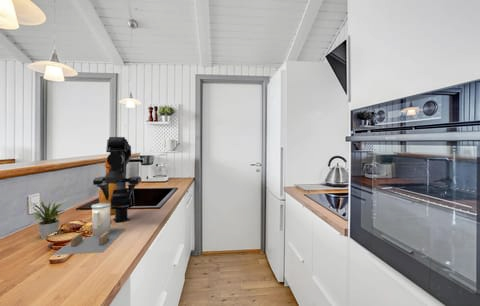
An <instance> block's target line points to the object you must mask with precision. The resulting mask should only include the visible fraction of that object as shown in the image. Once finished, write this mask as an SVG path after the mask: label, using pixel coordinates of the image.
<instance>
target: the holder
mask: <svg viewBox="0 0 480 306" xmlns="http://www.w3.org/2000/svg"><path fill="white" fill-rule="evenodd" d="M126 230H127V228H111V233H110V234H109V232H105V233H104V234H102V235H101V236H100V237H95V236H91V237H86V238H84V239H83V236H82V234H83V232H79V233H77V234H76V235H74V236H73V237H71V238H70V242H71V243H70V242H68V243H67V244H65V245H64V246H62V247H61V248H59V249H58V250H57V251H55V252H54V253H52V254H51V256H56V255H57V256H59V255H60V256H62V255H79V254H80V255H81V254H101V253H104V252H105V251H106V250H107V249H108V248H109V247H110V246H111V245H113V244H114V242H115V241H116V240H117V239H118V238H119V237H120V236H121V235H122V234H123V233H124V232H125V231H126Z"/></svg>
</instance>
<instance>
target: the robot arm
mask: <svg viewBox="0 0 480 306" xmlns="http://www.w3.org/2000/svg"><path fill="white" fill-rule="evenodd" d="M105 149H106V151H105V152H106V153H110V154H109V155H108V156H107V158H106V159H107V162H108V164H109V165H110V166H111V168H110V169H109V173H107V175H106V174H105V175H106V176H105V175H104V176H99V177H94V179H93V180H92V185H93V186H96V187H98V188H101V189H102V191H103V193H104V195H105V198H106V200H108V198H109V183H113V184H117V188H116V189H115V190H114V191H113V196H112V197H111V210H113V209H115V214H114V218H113V219H112V220H113V221H114V222H115V223H120V222H121V223H122V222H127V221H130V220H131V218H130V217H129V215H128V214H129V213H128V212H129V211H128V210H129V209H131V208H132V207H133V201H132V198H131V197H132V194H133V192H134V189H135V187H136V186H137V185H139V184H140V183H142V177H141V176H140V175H138V176H135V175H134V176H130V177H127V165H128V164H129V162H131V161H130V160H131V157H132V146H131V145H130V143H129V141H128V139H126V138H125V137H124V136H110V137H109V138H108V139H107V142H106V148H105ZM127 183H128V184H127ZM126 187H127V188H126Z"/></svg>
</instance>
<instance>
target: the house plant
mask: <svg viewBox="0 0 480 306" xmlns="http://www.w3.org/2000/svg"><path fill="white" fill-rule="evenodd" d="M50 199H52V197H51V198H50ZM67 200H68V199H65V200H63V201H62V202H59V203H58V204H56V203H57V202H56V200H55V199H53V200H52V202H53V205H52V208H51V209H50V207H51V204H52V202H51V200H49V202H48V205H45V203H44V202H43V201H42V200H41V199H40V200H39V204H40V205H41V207H42V208H43V209H42V208H41V207H39V206H38V205H37V203H34V202H32V205H29V206H33V207H32V209H33V210H35V211H36V213H33V217H35V218H34V221H36V220H40V222H38V223H37V226H38V230H39V231H38V232H39V234H40V238H41V240H45V239H46V238H48V237H49V236H48V235H50V234H52V233H54V232H57V231H58V232H59V227H60V222H61V221H60V219H59V218H60V216H61V214H63V213H65V209H64V210H63V209H62V210H58V209H59V207H60V206H61V205H63V204H64V202H66V201H67ZM27 203H29V204H31V202H29V201H28V202H27ZM35 207H36V208H35ZM37 209H38V210H37ZM39 211H40V212H41V213H40V212H39ZM37 212H38V213H37ZM58 213H59V214H58ZM42 214H43V215H42ZM29 217H30V218H31V217H32V216H31V215H30V216H29ZM47 236H48V237H47Z"/></svg>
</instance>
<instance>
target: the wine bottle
mask: <svg viewBox="0 0 480 306" xmlns="http://www.w3.org/2000/svg"><path fill="white" fill-rule="evenodd" d="M104 161H105V162H104V163H105V165H104V167H105V175H104V177H105V176H106V175H107V173H109V169H110V168H111V166H110V165H109V164H108V162H107V158H106V159H105V160H104ZM99 188H100V187H99ZM116 188H117V184H113V183H109V198H108V200H106V198H105V195H104V193H103V191H102V189H101V188H100V189H99V192H98V203H110V204H111V197H112V196H113V191H114V190H115V189H116ZM112 215H114V216H115V209H113V210H111V206H110V216H112Z"/></svg>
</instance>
